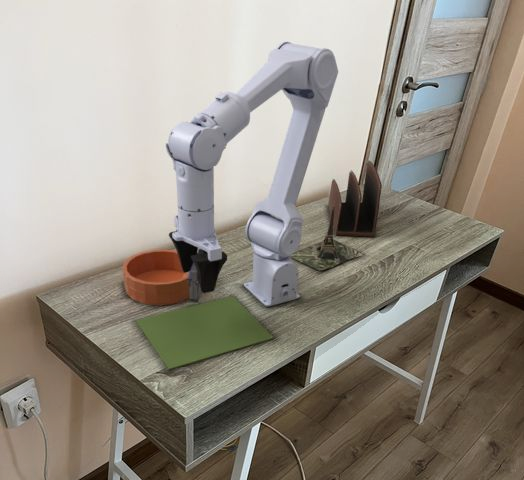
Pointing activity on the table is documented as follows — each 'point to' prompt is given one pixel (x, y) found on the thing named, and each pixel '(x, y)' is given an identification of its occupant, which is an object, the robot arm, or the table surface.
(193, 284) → the mini dv tape
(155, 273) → the pot
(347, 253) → the eiffel tower figurine
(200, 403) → the table surface
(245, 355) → the table surface
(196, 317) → the cloth
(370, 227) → the letter holder
